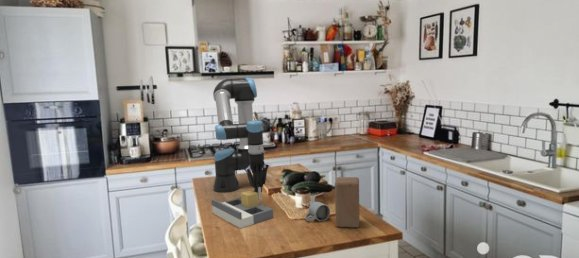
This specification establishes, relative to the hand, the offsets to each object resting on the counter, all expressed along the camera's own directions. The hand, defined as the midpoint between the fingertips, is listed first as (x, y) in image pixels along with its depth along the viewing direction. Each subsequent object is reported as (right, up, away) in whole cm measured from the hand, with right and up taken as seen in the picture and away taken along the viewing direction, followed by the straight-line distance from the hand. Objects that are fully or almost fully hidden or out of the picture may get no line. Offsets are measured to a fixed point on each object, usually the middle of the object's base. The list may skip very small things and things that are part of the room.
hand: (258, 199), depth 190 cm
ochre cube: (-4, -2, -3) cm, 5 cm away
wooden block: (+41, -7, -20) cm, 46 cm away
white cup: (+25, -4, +6) cm, 26 cm away
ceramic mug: (+28, -7, -14) cm, 32 cm away
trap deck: (-8, -7, -5) cm, 11 cm away
